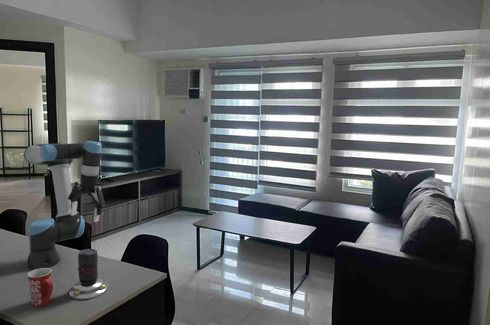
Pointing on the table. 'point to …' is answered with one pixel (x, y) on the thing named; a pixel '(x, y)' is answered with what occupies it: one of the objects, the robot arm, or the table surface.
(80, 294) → the base
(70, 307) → the table surface
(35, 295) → the mug
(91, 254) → the camera lens
